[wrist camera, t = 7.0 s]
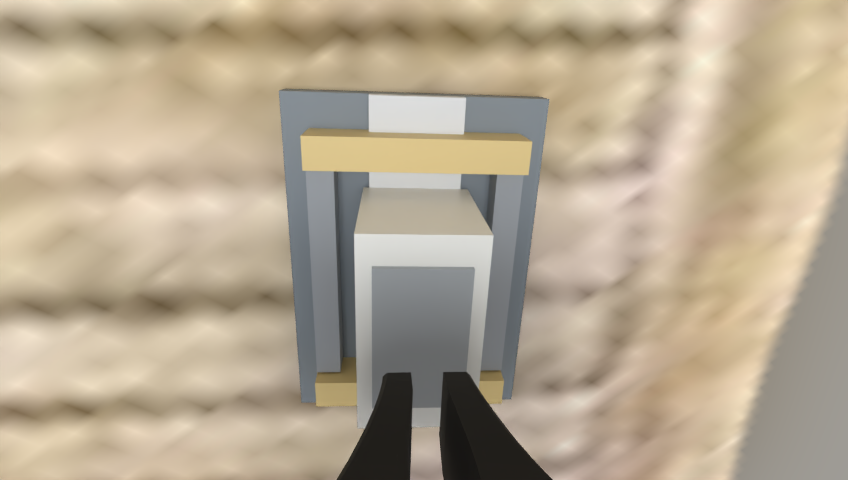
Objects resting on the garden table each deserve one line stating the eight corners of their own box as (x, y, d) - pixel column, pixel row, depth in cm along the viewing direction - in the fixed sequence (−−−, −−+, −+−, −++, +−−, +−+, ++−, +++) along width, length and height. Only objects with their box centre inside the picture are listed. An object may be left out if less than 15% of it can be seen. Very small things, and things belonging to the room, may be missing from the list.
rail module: (456, 343, 21) (476, 430, 16) (365, 343, 21) (357, 432, 16) (467, 189, 18) (495, 237, 13) (363, 187, 18) (353, 236, 13)
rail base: (506, 385, 24) (520, 426, 21) (305, 388, 23) (294, 430, 21) (541, 97, 19) (565, 104, 16) (284, 88, 18) (266, 94, 15)
